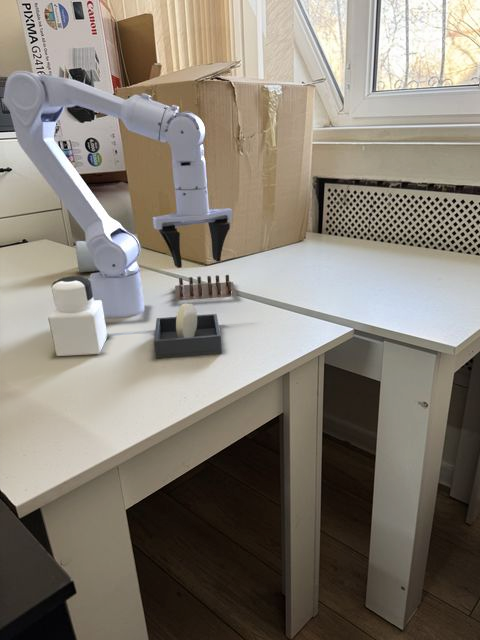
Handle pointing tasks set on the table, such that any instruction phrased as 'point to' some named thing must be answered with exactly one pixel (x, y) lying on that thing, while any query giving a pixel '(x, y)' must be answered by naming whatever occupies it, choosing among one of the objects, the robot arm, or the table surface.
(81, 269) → the ceramic mug
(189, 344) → the dark grey open box
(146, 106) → the robot arm
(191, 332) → the saucer
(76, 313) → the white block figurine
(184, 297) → the dish rack
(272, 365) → the table surface
